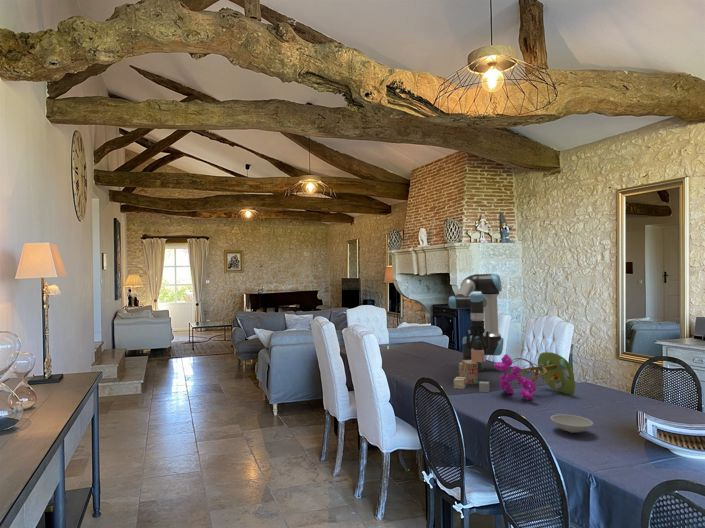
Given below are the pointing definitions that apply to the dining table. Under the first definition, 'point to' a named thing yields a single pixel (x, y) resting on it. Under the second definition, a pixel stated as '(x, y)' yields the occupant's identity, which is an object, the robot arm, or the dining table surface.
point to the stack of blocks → (469, 371)
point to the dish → (571, 422)
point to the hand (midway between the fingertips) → (478, 360)
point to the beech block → (460, 382)
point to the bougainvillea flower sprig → (550, 369)
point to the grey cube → (484, 386)
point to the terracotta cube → (477, 356)
